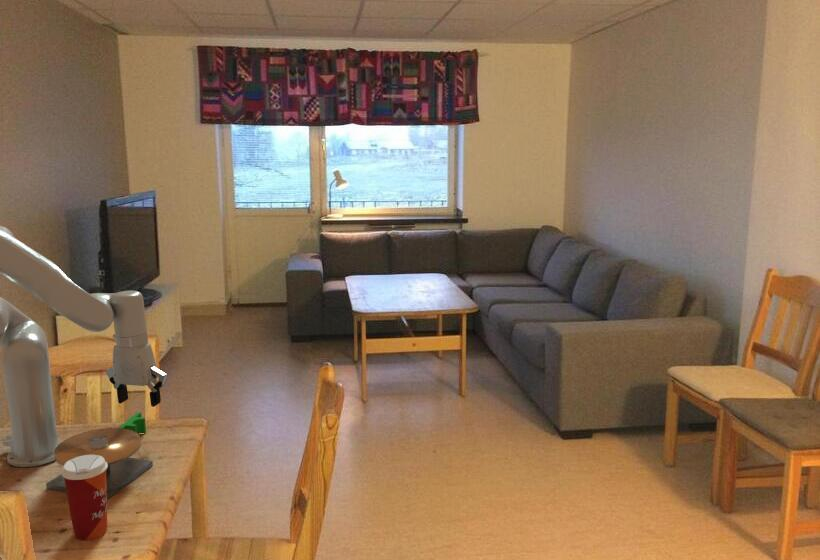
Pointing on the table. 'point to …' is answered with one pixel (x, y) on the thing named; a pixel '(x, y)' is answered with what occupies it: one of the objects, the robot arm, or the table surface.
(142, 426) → the pipe clamp
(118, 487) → the bronze disc on slab
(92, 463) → the coffee cup
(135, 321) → the robot arm
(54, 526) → the table surface
